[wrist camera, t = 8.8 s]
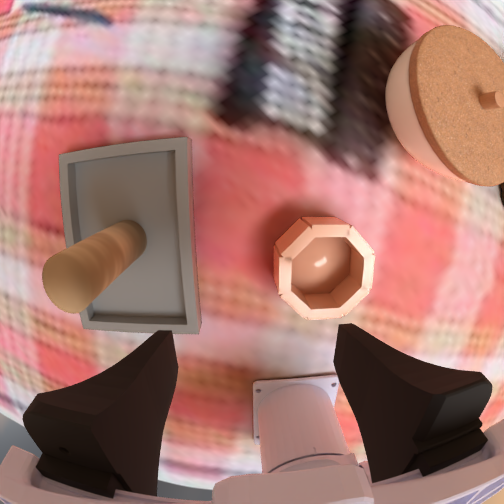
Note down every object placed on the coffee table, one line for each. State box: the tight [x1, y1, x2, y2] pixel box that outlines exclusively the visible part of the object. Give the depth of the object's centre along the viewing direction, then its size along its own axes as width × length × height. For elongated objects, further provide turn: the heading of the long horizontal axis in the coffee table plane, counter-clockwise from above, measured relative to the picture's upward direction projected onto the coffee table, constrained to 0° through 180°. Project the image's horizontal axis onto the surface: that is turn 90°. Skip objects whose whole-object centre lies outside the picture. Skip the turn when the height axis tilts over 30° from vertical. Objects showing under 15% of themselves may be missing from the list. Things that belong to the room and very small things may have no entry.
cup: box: [274, 217, 375, 320], centre depth 21 cm, size 7×7×3 cm
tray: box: [59, 137, 202, 334], centre depth 20 cm, size 14×10×2 cm
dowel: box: [42, 220, 147, 313], centre depth 16 cm, size 3×3×9 cm
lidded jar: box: [385, 25, 504, 186], centre depth 15 cm, size 11×11×9 cm
